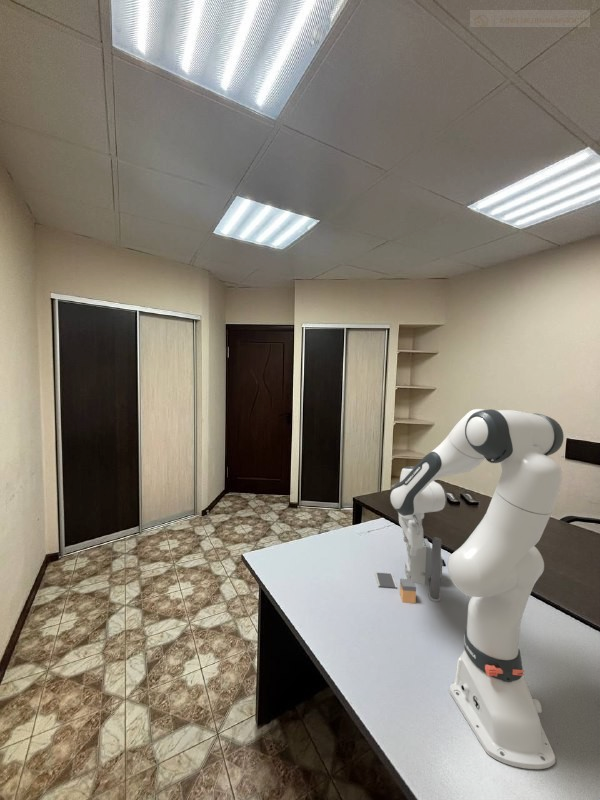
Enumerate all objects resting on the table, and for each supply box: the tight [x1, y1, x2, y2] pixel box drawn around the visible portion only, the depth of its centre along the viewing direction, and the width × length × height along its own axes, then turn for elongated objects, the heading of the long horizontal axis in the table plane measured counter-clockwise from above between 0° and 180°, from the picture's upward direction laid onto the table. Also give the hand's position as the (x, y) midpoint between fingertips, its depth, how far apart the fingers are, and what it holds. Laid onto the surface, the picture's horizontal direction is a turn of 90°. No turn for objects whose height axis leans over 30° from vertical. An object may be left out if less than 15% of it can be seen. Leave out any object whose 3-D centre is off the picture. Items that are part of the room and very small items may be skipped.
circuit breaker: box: [404, 537, 447, 586], centre depth 129 cm, size 8×14×15 cm, turn 78°
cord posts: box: [420, 519, 442, 603], centre depth 129 cm, size 27×4×22 cm, turn 175°
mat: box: [374, 572, 398, 590], centre depth 128 cm, size 9×7×1 cm
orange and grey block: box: [399, 578, 417, 604], centre depth 117 cm, size 4×4×6 cm
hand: (409, 548), depth 116 cm, fingers open, 8 cm apart
